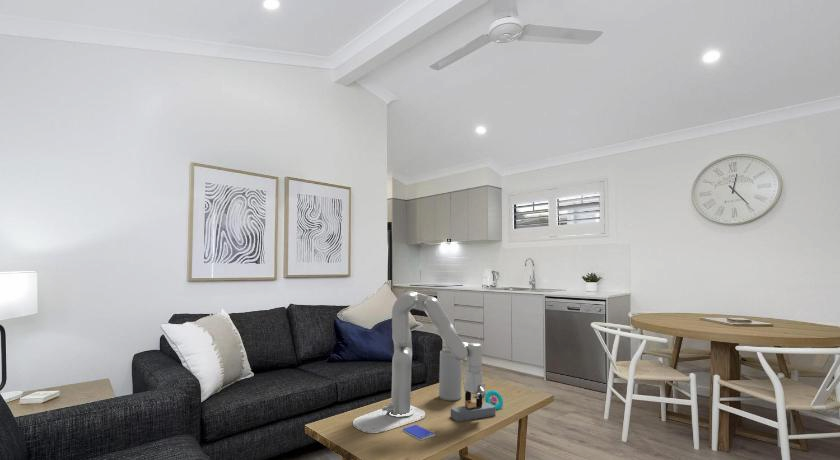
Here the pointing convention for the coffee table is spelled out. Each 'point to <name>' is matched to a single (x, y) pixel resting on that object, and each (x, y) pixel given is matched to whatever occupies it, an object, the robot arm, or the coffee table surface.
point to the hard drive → (418, 432)
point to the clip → (470, 404)
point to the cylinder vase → (450, 376)
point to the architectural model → (483, 387)
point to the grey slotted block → (473, 412)
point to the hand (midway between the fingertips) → (473, 403)
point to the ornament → (494, 399)
